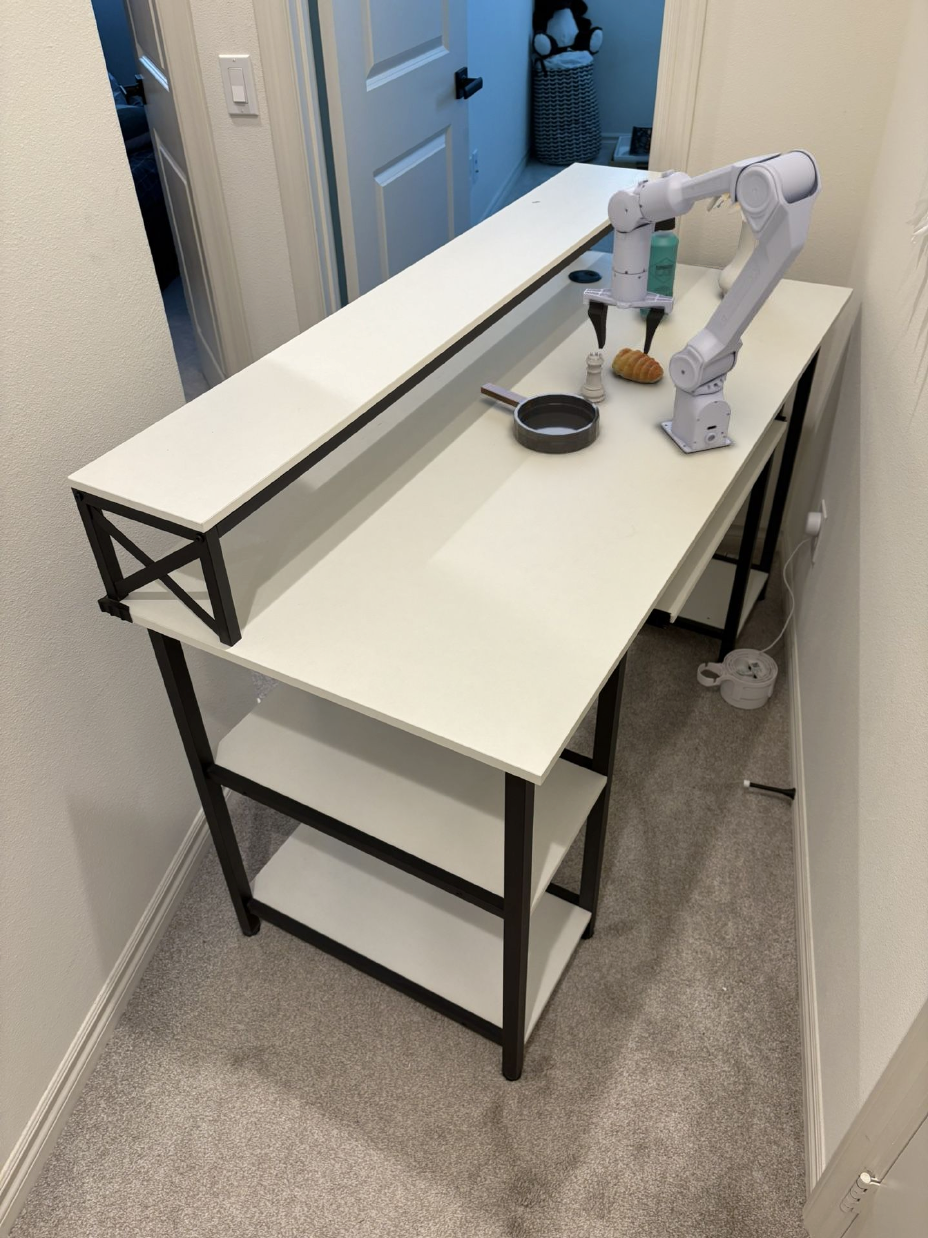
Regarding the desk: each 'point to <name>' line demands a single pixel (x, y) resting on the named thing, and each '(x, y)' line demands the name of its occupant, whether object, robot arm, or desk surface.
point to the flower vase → (744, 246)
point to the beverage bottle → (662, 260)
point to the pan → (556, 422)
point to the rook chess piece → (593, 379)
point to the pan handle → (503, 395)
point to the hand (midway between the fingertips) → (624, 348)
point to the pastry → (637, 366)
